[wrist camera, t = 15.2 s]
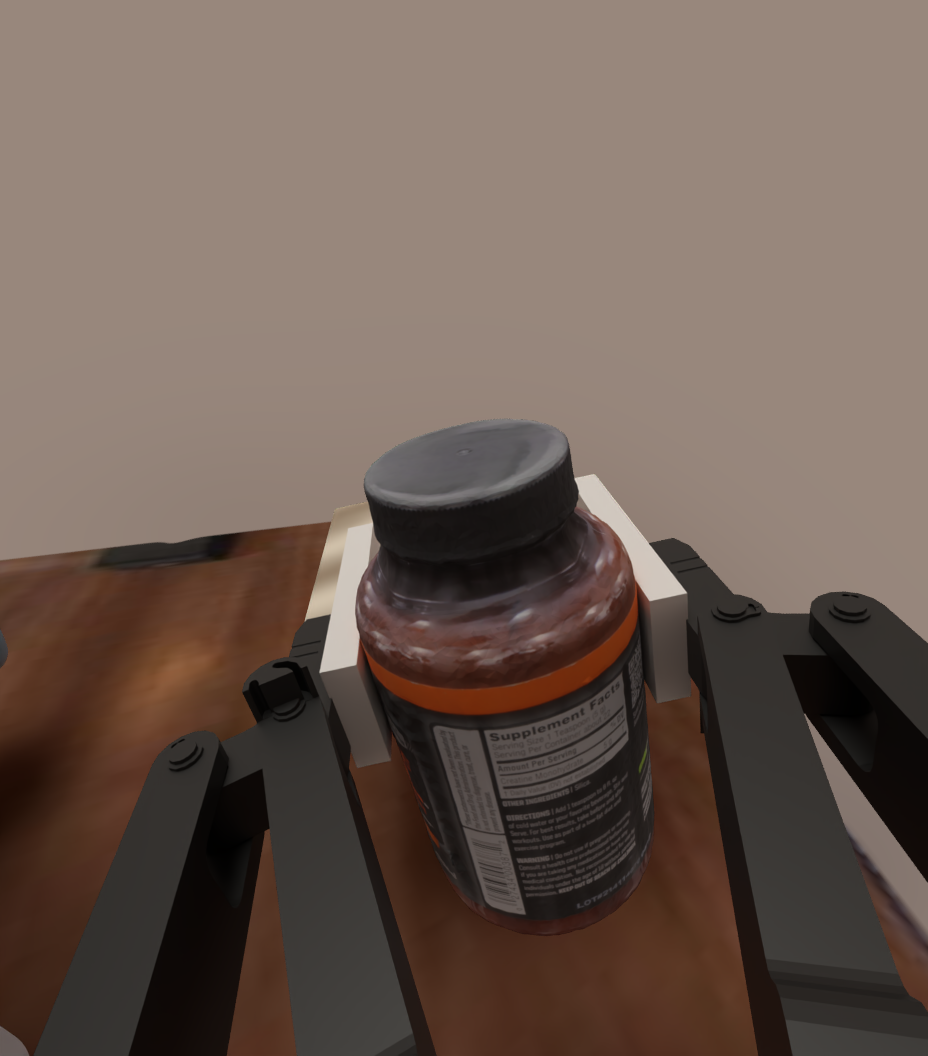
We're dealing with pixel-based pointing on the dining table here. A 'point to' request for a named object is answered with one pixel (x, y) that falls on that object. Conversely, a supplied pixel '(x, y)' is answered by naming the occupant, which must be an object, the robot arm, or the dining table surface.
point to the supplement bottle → (511, 672)
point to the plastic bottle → (11, 1045)
